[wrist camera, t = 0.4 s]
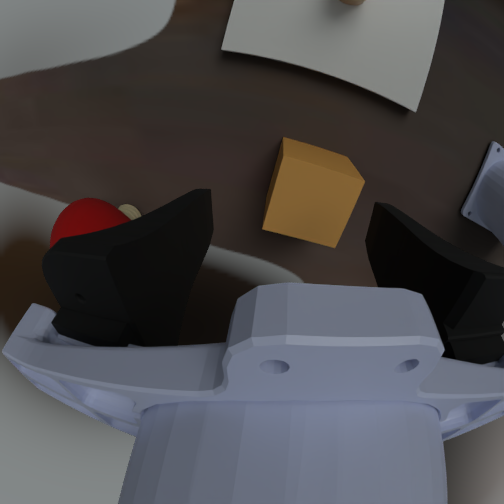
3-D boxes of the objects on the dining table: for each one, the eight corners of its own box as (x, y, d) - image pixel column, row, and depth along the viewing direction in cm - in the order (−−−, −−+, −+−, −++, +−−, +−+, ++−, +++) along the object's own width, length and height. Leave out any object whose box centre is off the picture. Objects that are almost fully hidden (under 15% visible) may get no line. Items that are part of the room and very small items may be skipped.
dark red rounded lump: (175, 254, 26) (135, 337, 18) (116, 251, 26) (69, 321, 18) (158, 162, 20) (87, 227, 12) (93, 169, 21) (19, 227, 13)
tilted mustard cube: (347, 156, 19) (364, 181, 15) (325, 212, 22) (334, 247, 18) (283, 137, 18) (283, 155, 14) (266, 196, 21) (262, 229, 17)
